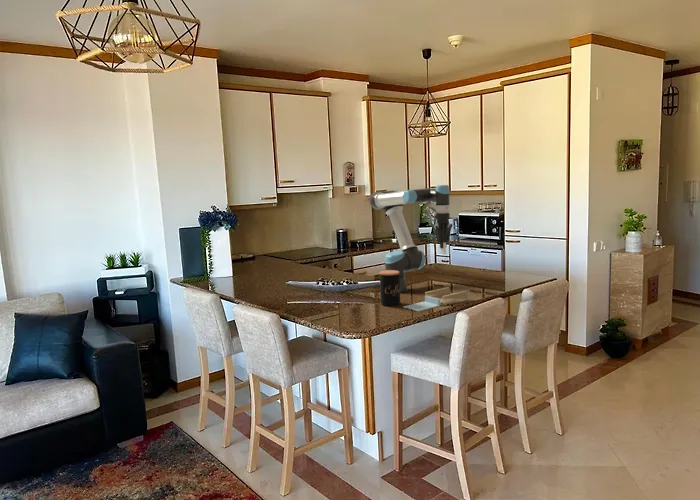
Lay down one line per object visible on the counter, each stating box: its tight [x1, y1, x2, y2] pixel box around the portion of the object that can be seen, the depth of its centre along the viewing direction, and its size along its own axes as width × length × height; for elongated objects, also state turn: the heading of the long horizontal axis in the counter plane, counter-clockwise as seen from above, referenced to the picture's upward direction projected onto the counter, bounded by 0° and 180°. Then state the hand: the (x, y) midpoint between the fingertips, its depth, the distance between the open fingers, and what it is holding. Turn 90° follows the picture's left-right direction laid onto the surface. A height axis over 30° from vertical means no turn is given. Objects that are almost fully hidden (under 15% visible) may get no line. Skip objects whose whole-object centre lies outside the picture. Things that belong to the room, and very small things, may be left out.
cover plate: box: [402, 295, 441, 312], centre depth 284 cm, size 12×17×4 cm
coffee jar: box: [379, 270, 401, 307], centre depth 291 cm, size 11×11×18 cm
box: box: [424, 286, 468, 306], centre depth 295 cm, size 14×18×5 cm
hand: (443, 253), depth 305 cm, fingers closed
